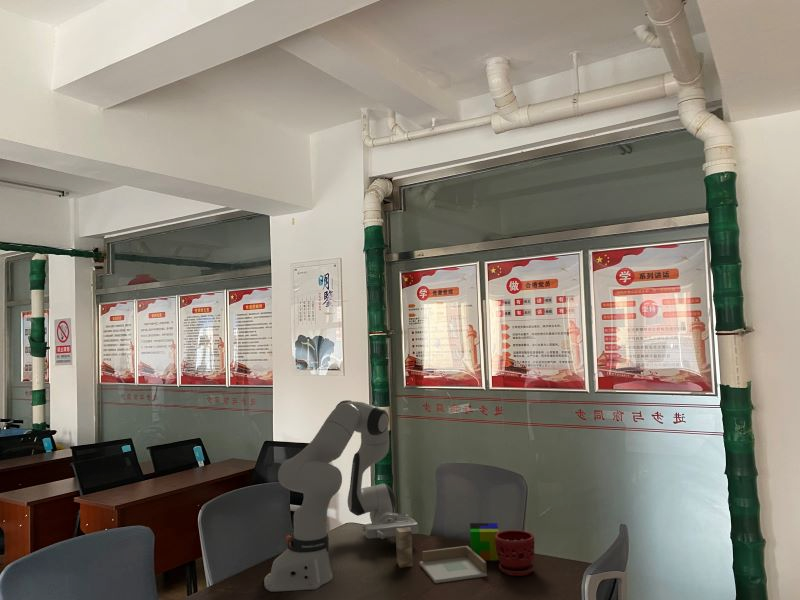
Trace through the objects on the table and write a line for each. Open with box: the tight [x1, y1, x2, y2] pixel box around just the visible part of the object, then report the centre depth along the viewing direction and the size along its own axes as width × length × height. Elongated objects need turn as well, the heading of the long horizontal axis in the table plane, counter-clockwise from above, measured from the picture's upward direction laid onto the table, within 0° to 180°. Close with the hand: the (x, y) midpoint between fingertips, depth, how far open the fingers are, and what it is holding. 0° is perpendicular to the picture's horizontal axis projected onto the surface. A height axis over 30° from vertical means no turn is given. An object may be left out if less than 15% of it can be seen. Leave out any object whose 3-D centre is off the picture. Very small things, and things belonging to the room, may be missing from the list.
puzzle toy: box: [469, 522, 500, 561], centre depth 223 cm, size 10×10×10 cm
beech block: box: [395, 527, 414, 568], centre depth 216 cm, size 4×4×12 cm
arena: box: [419, 545, 488, 584], centre depth 209 cm, size 18×17×4 cm
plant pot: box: [495, 529, 535, 577], centre depth 207 cm, size 13×13×12 cm
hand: (396, 535), depth 226 cm, fingers open, 8 cm apart
